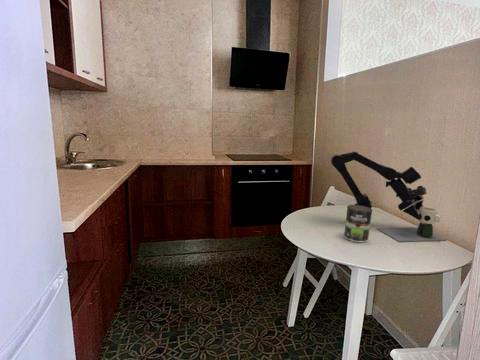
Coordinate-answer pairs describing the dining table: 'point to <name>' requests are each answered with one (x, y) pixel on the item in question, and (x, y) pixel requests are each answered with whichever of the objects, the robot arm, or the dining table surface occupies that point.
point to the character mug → (427, 221)
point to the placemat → (408, 235)
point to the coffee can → (357, 223)
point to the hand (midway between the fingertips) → (423, 217)
